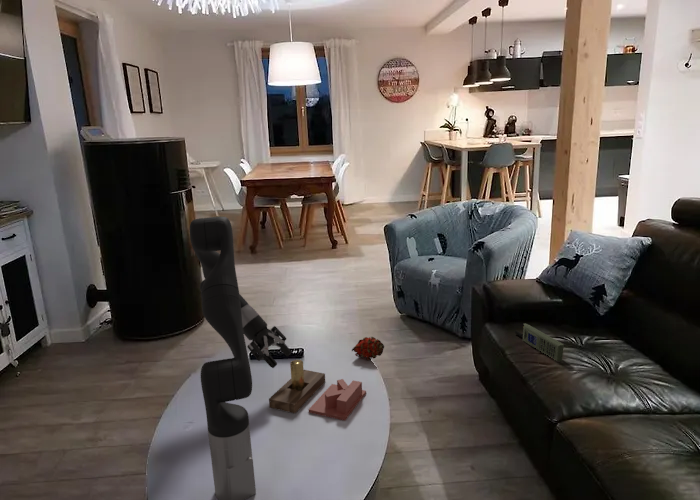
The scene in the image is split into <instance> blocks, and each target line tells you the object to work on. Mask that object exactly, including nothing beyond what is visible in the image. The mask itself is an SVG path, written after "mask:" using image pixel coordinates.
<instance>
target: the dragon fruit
mask: <svg viewBox="0 0 700 500" xmlns="http://www.w3.org/2000/svg"><path fill="white" fill-rule="evenodd" d="M384 349H385V344H384V343H383V342H382V341H381V340H380V339H376V338H375V337H374V336H369V337H367V336H366V337H363V338H362V339H359V340H358V341H357V344H355V346H353V347H352V349H351V352H355V356H356V357H358V358H366V360H367V361H370V360H371V359H376V358H377V357H378V356H379V357H380V356H382V355H383V352H384Z"/></svg>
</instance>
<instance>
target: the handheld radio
mask: <svg viewBox="0 0 700 500" xmlns="http://www.w3.org/2000/svg"><path fill="white" fill-rule="evenodd" d="M522 327H523V330H522V332H520V331H519V330H515V331H514V334H515V335H517V336H519V337H520V338H522V342H524V343H526V344H528V345H529V346H531V347H532V348H534V349H535V348H536V350H537V351H538V352H540V351H541V352H540V353H542V354H543V353H544V355H545V354H546V355H545V356H547V355H548V356H549V357H548V356H547V357H548V358H550V357H552V358H553V359H555V360H556V361H560V362H562V361H563V356H564V347H565V345H564V343H562V342H560V341H558V340H557V339H555V338H553V337H551V336H550V335H548V334H546V333H544V332H542V331H541V330H539V329H537V328H536V327H534V326H531V325H530V324H528V323H523V326H522ZM553 359H552V360H553ZM555 360H554V361H555ZM556 361H555V362H556Z"/></svg>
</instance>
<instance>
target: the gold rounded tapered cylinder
mask: <svg viewBox="0 0 700 500" xmlns="http://www.w3.org/2000/svg"><path fill="white" fill-rule="evenodd" d="M289 364H290V377H291V378H290V379H291V382H292V389H293V390H298V391H302V390H303V389H304V388H305V386H304V370H305V369H304V361H303V360H300V359H293V360H292V361H291V362H290V363H289Z"/></svg>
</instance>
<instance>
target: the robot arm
mask: <svg viewBox="0 0 700 500" xmlns="http://www.w3.org/2000/svg"><path fill="white" fill-rule="evenodd" d="M233 235H234V234H233V226H232V223H231V221H230V220H229V218H228V217H227V216H212V217H200V218H194V219H192V220H191V221H190V224H189V239H190V243H191V247H192V249H193V251H194V253H195V256H196V258H197V259H198V261H199V263H200V265H201V268H202V269H201V270H202V274H203V279H204V280H201V282H200V284H199V290H200V296H201V297H200V298H201V312H202V315H203V317H204V319H205V320H206V321H207V323H208V324H209V325H210V326H211V328H213V329H214V330H215V331H216V333H218V335H220V336H221V338H222V339H223V340H224V341H225V343H226V344H227V346H228V348H229V349H230V351H231V353H232V356H233V357H232V358H231V357H230V358H225V359H224V358H223V359H218V360H212V361H207V362H204V363H203V364H202V366H201V369H200V383H201V390H202V396H203V397H202V398H203V400H204V401H203V402H204V406H205V407H204V408H205V413H206V414H205V415H206V423H207V432H208V433H207V434H208V443H209V451H210V452H209V453H210V458H211V459H210V460H211V467H212V468H211V469H212V476H213V485H214V493H215V494H214V495H215V497H216V499H217V500H246V499H249V498H250V497H252V496H253V495H256V494H257V491H256V490H257V488H256V480H255V469H254V459H253V452H252V451H253V449H252V440H251V429H250V417H249V413H248V410H247V409H246V408H245V407H244V406H242V405H239V404H236V403H231V402H233V401H238V400H242V399H243V400H244V399H248V398H249V397H250V396H251V395H252V392H253V377H252V371H251V364H250V359H249V356H248V350H249V351H250V353H251V354H252V355H253V356H254V358H255V359H256V360H257V361H258V362H260V361H262V360H263V361H264V362H266V364H268V366H269V367H271V368H272V369H274V368H275V367H276V366H277V365H278V362H277V361H276V360H275V359H274V358H273V356H272V355H271V354H270V353H269V348H270V347H271V346H272V347H277V348H279V350H280V351H281V352H282V353H283V354H284V355H285V356H286V357H289V356H290V355H291V354H292V350H291V349H290V348H289V347H288V345H287V344H286V341H287V337H286V336H285V334H284V333H282V332H281V331H280V330H279V328H278V327H277V326H275V325H273V327H272V328H270V329H269V328H268V324H267V323H266V321H265V319H263V318H262V316H261V315H260V314H259V313H258V312H257V311H256V309H254V307H252V306H251V305H250V304H249V303H248V302H247V300H246V299H245V297H243V295H241V294H240V289H239V284H238V277H237V272H236V265H235V249H234V236H233ZM218 251H220V253H219V252H218ZM245 338H246V339H248V341H251V342H250V343H249V344H248V345H246V340H245Z"/></svg>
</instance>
